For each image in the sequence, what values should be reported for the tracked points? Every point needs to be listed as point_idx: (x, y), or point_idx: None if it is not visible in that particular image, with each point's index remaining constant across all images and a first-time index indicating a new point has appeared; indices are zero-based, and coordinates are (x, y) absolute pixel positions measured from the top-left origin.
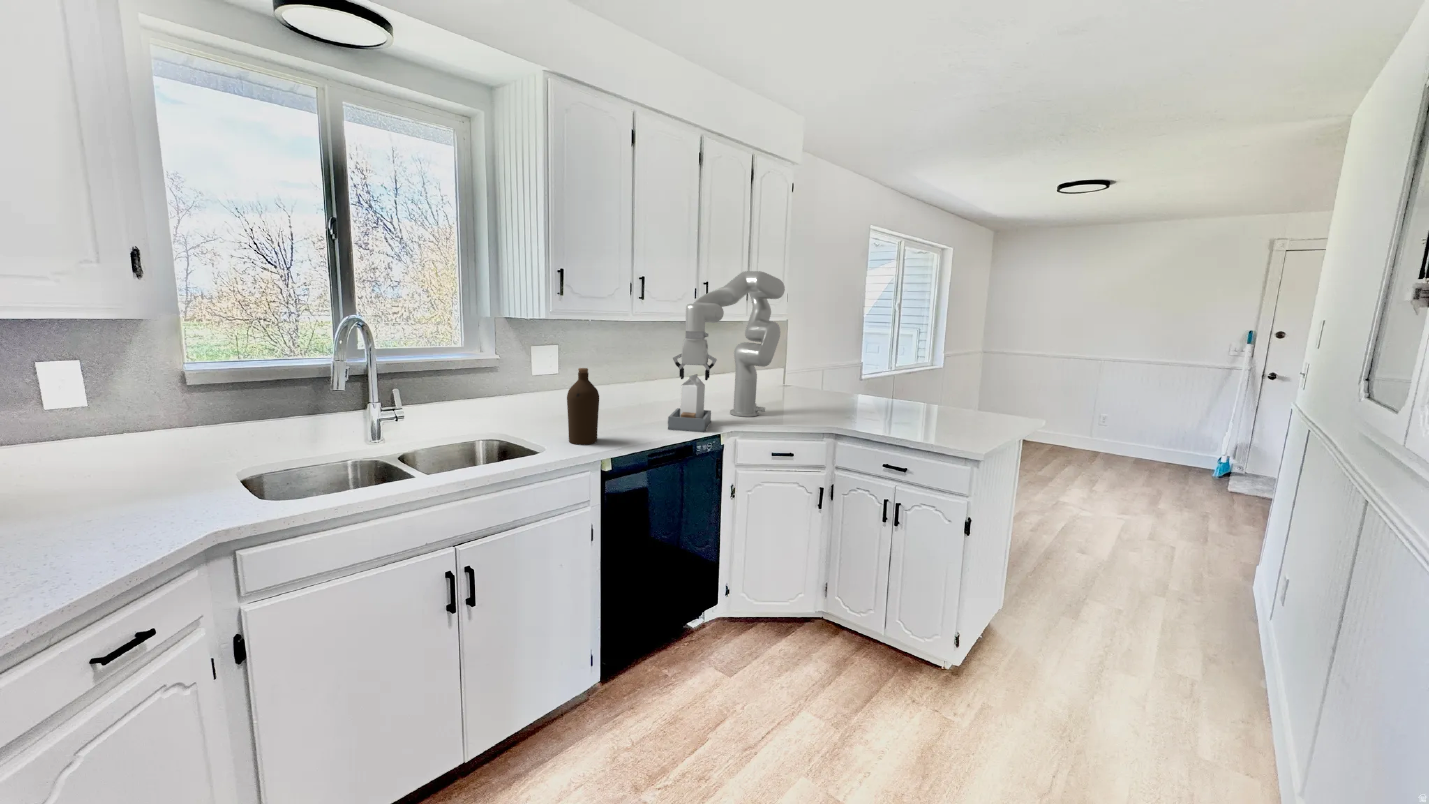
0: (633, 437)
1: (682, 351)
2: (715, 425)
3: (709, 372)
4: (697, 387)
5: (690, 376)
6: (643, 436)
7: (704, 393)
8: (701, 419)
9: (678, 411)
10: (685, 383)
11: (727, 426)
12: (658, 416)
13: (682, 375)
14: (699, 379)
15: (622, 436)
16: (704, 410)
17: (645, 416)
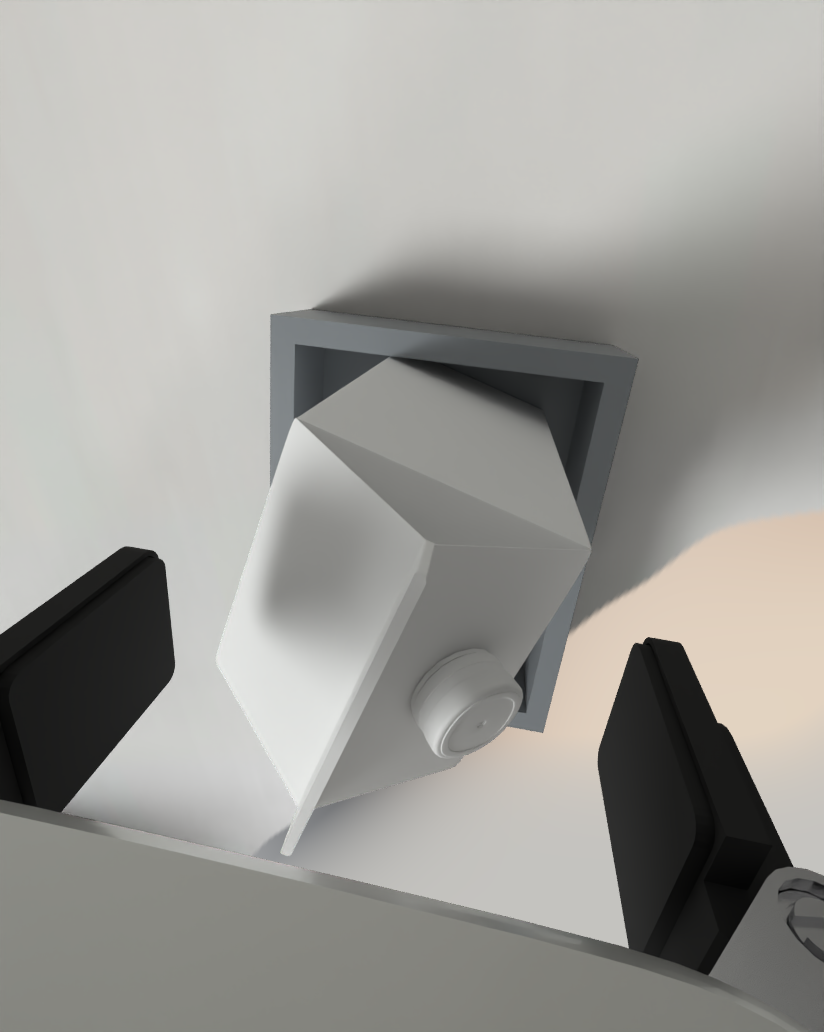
0: (172, 785)
1: None
2: (644, 451)
3: (769, 820)
4: (462, 756)
5: (303, 828)
6: (210, 767)
7: (573, 499)
8: (516, 726)
9: (301, 377)
10: (261, 656)
11: (748, 470)
12: (125, 173)
13: (130, 723)
14: (485, 709)
15: (119, 771)
16: (561, 375)
17: (27, 207)
